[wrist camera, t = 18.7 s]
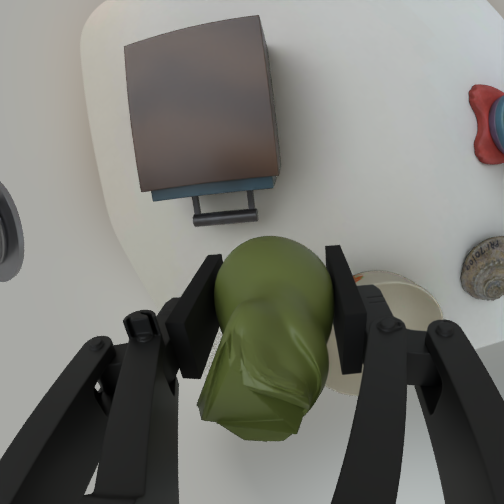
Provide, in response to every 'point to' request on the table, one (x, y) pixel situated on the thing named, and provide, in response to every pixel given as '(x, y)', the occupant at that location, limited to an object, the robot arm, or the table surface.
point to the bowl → (402, 307)
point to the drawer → (216, 188)
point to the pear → (269, 339)
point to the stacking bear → (488, 123)
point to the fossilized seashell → (485, 270)
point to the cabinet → (202, 105)
